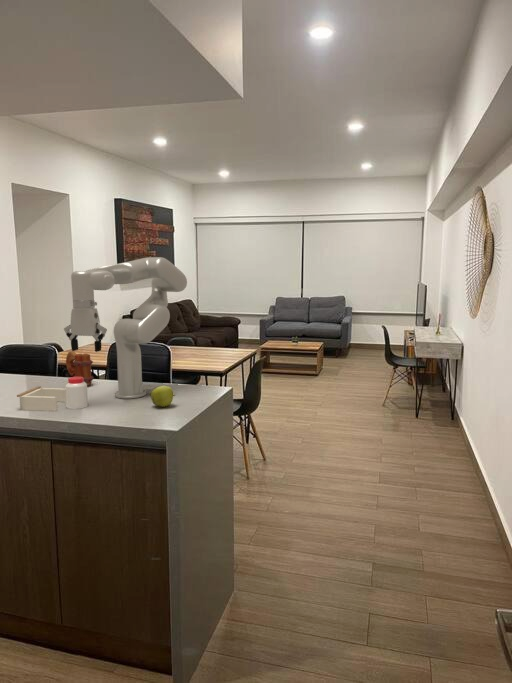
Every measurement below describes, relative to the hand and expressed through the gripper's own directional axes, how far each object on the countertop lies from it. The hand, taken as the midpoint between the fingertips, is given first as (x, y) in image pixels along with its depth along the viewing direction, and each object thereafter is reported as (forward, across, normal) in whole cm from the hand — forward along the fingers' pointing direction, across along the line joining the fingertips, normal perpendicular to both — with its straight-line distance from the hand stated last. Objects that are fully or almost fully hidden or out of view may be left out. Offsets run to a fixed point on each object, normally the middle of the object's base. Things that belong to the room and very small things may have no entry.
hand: (86, 350), depth 189 cm
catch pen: (+21, +17, +3) cm, 27 cm away
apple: (+22, -27, -6) cm, 36 cm away
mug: (+22, +24, -31) cm, 45 cm away
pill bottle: (+22, +4, +2) cm, 22 cm away
